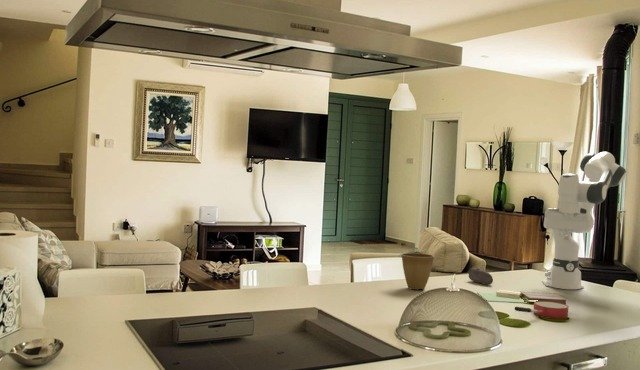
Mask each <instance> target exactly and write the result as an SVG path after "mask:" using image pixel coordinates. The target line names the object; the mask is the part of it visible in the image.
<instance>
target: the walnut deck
mask: <svg viewBox="0 0 640 370" xmlns="http://www.w3.org/2000/svg"><path fill="white" fill-rule="evenodd" d="M520 292H521V296H523V297H525V298H527V299H528V300H538V301H551V302H558V303H562V304H566V305H567V299H565V298H564V297H562V296H560V295H559V294H557V293H554V292H539V291H538V292H534V291H520Z"/></svg>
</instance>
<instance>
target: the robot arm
mask: <svg viewBox="0 0 640 370" xmlns="http://www.w3.org/2000/svg"><path fill="white" fill-rule="evenodd" d="M579 168H580V170H581V171H582V172H583V173H584V175H585V177H586V179H585V180H584V181H582V180H581V181H580V179H579V178H580V177H579V174H577V173H569V172H568V173H563V174H561V175H560V177H559V181H558V188H557V189H558V190H557V194H558V199H557V201H556V202H557V203H556V204H557V205H556V206H557V207H556V208H547V209H545V211H544V218H543V219H544V220H543V227H544V228H545V229H549V231H550V232H551V234H552V236H553V240H554V258H553V259H552V266H551V267H550V268H549V269H548V271H545V273H544V274H545V275H544V277H545V278H546V279H544V278H543V279H542V280H541V282H542V283H543V284H544V286H545V287H551V288H556V289H563V290H581V289H584V285H582V272H581V270H580V269H579V265H580V263H579V261H580V260H579V249H580V245H579V244H578V242H577V241H576V240H574V238H573V236H572V233H574V234H584V233H585V234H587V233H589V232H591V231H592V230H593V228H594V225H595V222H594V217H593V215H592V214H591V211H592V209H593V208H594V206H595V205H600V204H601V203H603V202H604V201H605V200H606V198H607V194H608V192H609V191H608V190H609V189H610V187H616V186H619V185H620V184H621V183H623V181H625V178H626V173H627V170H626V168H624V167H623V166H622V165H619V164H617V162H616V158H615V156H614V155H613V154H612V153H611V152H608V151H601V152H598V153H591V152H589V153H587V154H585V155H584V156H583V157H582V158H581V160H580V164H579Z"/></svg>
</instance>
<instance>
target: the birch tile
mask: <svg viewBox="0 0 640 370" xmlns="http://www.w3.org/2000/svg"><path fill="white" fill-rule="evenodd" d="M521 292H522V291H512V290H506V289H505V290H504V289H503V290H502V289H498V290H497V291H496V292H495V293H496V296H502V297H509V298H517V299H519V298H520V296H521Z"/></svg>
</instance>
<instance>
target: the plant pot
mask: <svg viewBox="0 0 640 370" xmlns="http://www.w3.org/2000/svg"><path fill="white" fill-rule="evenodd" d="M434 259H435V255H432V254H429V253H419V252H416V253H415V252H406V253H401V262H402V269H403V273H404V275H403V276H404V279H405V282H406V285H407V289H409V288H411V289H424V290H425V289H426V286H427V284H428V282H429V278H430V276H431V272H432V268H433V263H434ZM411 289H410V290H411Z"/></svg>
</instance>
